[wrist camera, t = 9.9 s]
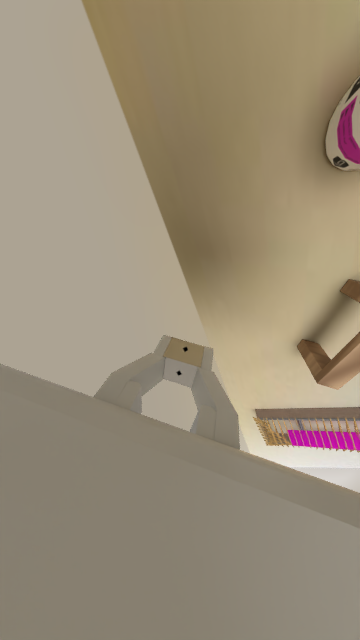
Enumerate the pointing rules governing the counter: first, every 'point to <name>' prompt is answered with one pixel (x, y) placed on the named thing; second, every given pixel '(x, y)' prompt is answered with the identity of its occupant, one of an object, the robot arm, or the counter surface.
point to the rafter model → (311, 437)
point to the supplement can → (345, 131)
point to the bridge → (345, 363)
